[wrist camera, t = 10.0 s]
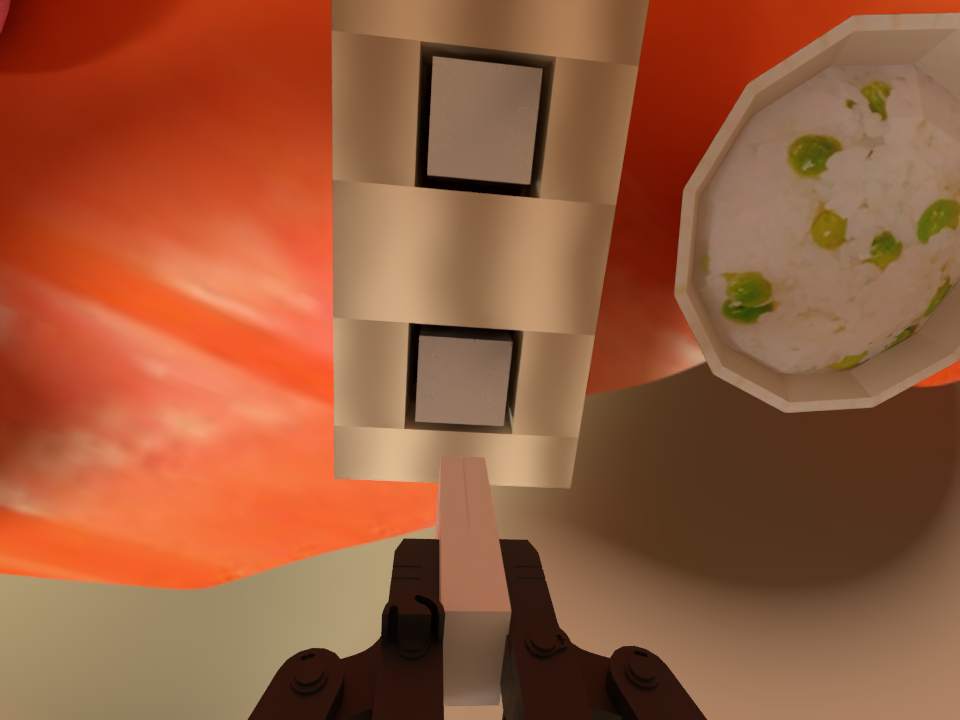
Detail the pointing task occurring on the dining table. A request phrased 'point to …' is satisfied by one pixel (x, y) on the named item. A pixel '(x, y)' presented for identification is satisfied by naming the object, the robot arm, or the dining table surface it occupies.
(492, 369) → the far peg
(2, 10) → the teapot
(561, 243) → the socket block
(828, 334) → the bowl
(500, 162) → the near peg
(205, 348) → the dining table surface
